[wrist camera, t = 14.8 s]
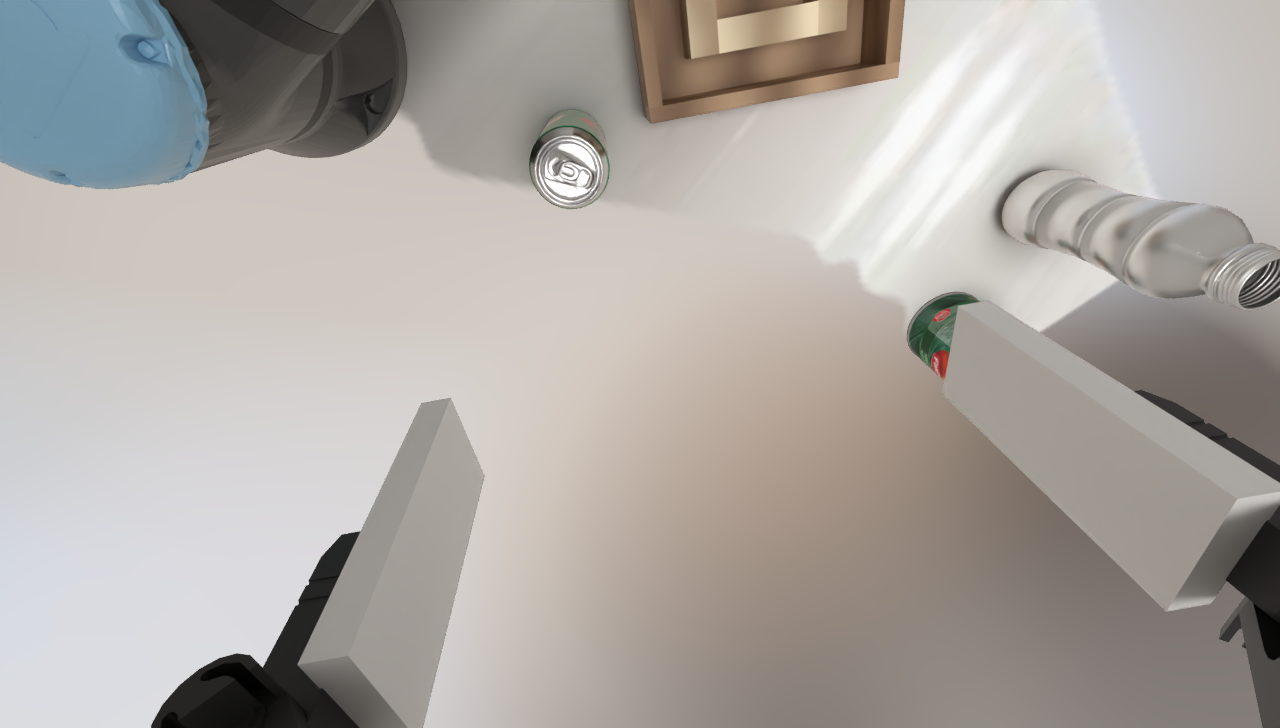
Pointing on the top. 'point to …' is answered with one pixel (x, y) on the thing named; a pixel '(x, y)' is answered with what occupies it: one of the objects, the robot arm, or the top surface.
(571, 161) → the soda can
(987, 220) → the top surface
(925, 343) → the canned tomato
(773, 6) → the socket tray
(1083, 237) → the plastic bottle
